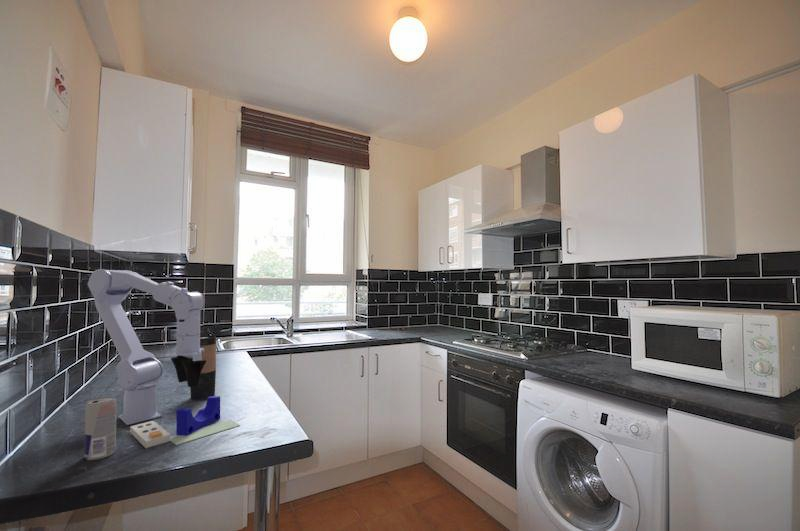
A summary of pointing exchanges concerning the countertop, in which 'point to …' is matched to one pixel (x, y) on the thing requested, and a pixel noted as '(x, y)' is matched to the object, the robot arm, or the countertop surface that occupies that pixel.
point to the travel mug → (206, 370)
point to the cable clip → (197, 417)
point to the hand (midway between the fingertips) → (187, 383)
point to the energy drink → (100, 428)
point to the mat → (204, 432)
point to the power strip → (150, 434)
